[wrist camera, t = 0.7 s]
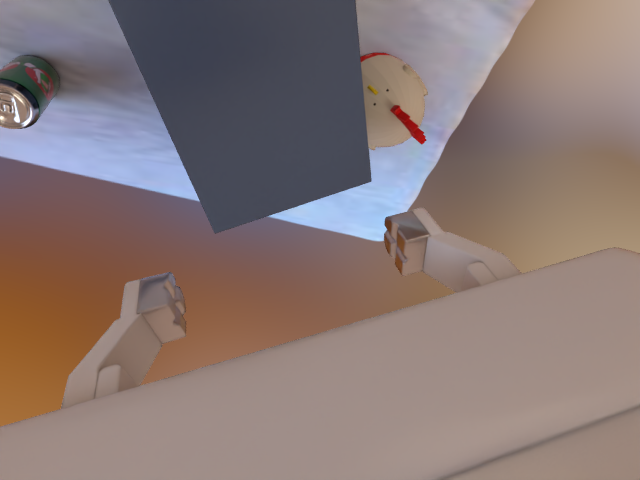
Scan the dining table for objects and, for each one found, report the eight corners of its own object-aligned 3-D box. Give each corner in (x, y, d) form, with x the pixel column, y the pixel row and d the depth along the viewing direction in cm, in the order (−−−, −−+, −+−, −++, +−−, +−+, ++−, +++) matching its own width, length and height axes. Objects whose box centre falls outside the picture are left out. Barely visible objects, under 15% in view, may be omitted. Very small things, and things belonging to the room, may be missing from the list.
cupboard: (197, 144, 58) (214, 234, 40) (87, -125, 38) (22, -189, 20) (308, 111, 60) (371, 181, 42) (257, -157, 41) (334, -239, 23)
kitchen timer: (378, 31, 56) (433, 52, 45) (424, 93, 65) (479, 123, 54) (315, 104, 60) (351, 140, 49) (367, 153, 68) (407, 194, 57)
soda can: (11, 91, 47) (-24, 126, 38) (8, 48, 44) (-31, 74, 35) (60, 102, 49) (38, 137, 40) (60, 61, 46) (36, 89, 37)
